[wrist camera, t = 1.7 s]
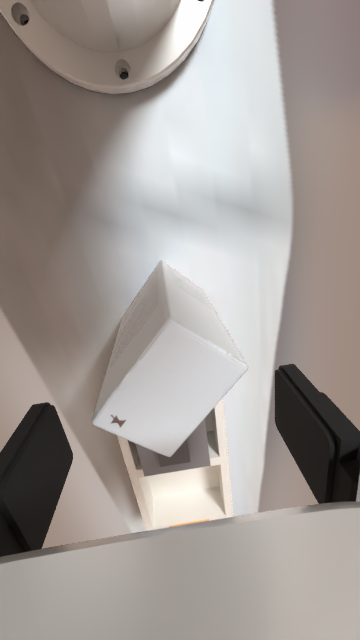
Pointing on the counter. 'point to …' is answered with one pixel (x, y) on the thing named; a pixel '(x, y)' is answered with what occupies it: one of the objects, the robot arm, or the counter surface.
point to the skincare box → (167, 364)
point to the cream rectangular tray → (184, 483)
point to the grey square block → (178, 455)
